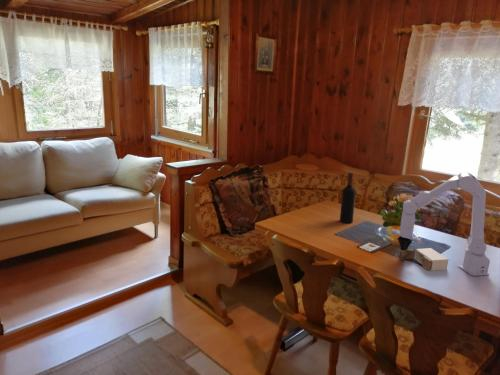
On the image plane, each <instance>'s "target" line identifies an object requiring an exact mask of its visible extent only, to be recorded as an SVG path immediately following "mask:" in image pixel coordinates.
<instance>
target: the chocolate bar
mask: <svg viewBox="0 0 500 375" xmlns="http://www.w3.org/2000/svg"><path fill="white" fill-rule="evenodd" d="M391 244H392V245H393V243H392V242H390V241H386V240H383V239H380V238H378V237H376V238H372V239H371V240H368V241H366V242H363V243H360V244H358V245H357V246H356V248H359V249H360V248H361V250H363V251H366V252H368V251H369V253H371V254H374V253H377V252H378V250H379V251H380V249H381V250H383V249H385V248H387V247H389V246H391ZM382 248H383V249H382Z"/></svg>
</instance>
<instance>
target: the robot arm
mask: <svg viewBox="0 0 500 375" xmlns="http://www.w3.org/2000/svg"><path fill="white" fill-rule="evenodd" d="M459 189H460V190H462V191H464V192H467V193H469V194H470V195H471V196H472V206H471V207H472V208H471V227H470V232H469V236H468V237H467V240H466V241H467V244H468V246H467V247H466V248H465V253H464V256H463V257H464V258H463V262H462V264H458V265H457V267H458V268H460V269H461V270H463V271H464V272H466V273H468V274H469V275H471V276H473V277H477V276H489V275H490V273H489V267H490V263H491V262H490V258H488V257H487V256H486V254H485V253H486V251H487V245H486V243H485V233H484V232H485V231H484V230H485V219H486V218H485V215H486V214H485V213H486V202H487V200H486V199H487V191H486V190H485V188H484V187H483V186H482V184H481V183H480V182H479V180H478V179H477V177H476V176H474V175H473V174H472V173H469V172H468V171H467V172H466V171H464V172H460V173H458V175H453V176H452V177H450V178H449V179H447V180H446V181H444V182H443V183H441V184H439V185H437V186H435V187H434V188H433V189H431V190H430V191H429V190H424V191H423V190H422V191H420V192H419V193H418V194H417V195H415V196H414V197H413V196H412V197H410V198H409V199H406V200H405V201H404V202H403V203H402V214H401V220H400V228H399V229H394V228H393V229H391V230H390V234H392V235H396V236H399V237H397V241H398V243H399V246H400V251H401V250H409V247H410V245H411V244H412V242H415V243H416V244H421V243H422V238H420V237H418V236H416V235H414V227H415V221H416V212H417V211H418V210H420V209H422V208H424V207H426V206H427V205H429V204H430V203H432V202H433V201H434V198H436V197H438V196H440V195H442V194H444V193H446V192H447V191H450V190H456V191H458V190H459Z"/></svg>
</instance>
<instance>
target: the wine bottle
mask: <svg viewBox="0 0 500 375" xmlns="http://www.w3.org/2000/svg"><path fill="white" fill-rule="evenodd" d="M353 179H354V173H353V172H348V173H347V185H346V186H345V187H344V188H343V189H342V193H341V202H340V203H341V205H340V216H339V222H340V223H342V224H346V225H347V224H349V225H351V224H353V222H354V213H355V212H354V210H355V203H356V202H355V200H356V189H355V188H354V187H353Z"/></svg>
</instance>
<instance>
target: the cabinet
mask: <svg viewBox="0 0 500 375" xmlns="http://www.w3.org/2000/svg"><path fill="white" fill-rule="evenodd" d="M413 260H416V261H417V262H418V263H419V264H421V266H422V267H423V268H424V269H426V270H427V271H445V270H448V264H449V258H448V257H446V256H444V255H443V254H441V253H439V252H438V251H436V250H434V249H433V248H432V247H427V248H415V256H414V259H413Z"/></svg>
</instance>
